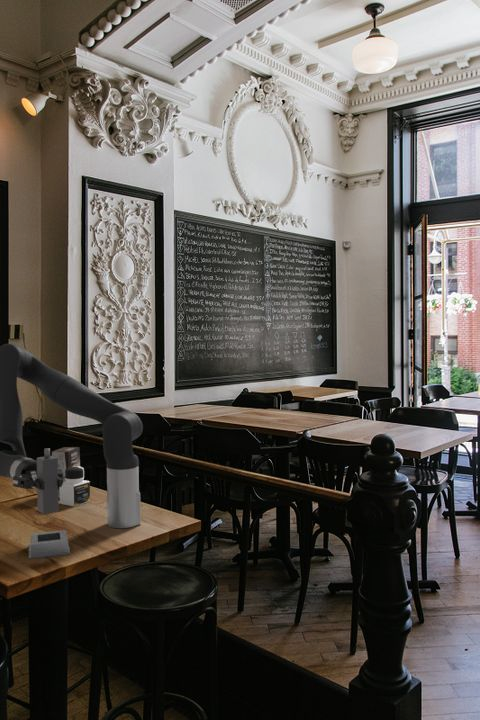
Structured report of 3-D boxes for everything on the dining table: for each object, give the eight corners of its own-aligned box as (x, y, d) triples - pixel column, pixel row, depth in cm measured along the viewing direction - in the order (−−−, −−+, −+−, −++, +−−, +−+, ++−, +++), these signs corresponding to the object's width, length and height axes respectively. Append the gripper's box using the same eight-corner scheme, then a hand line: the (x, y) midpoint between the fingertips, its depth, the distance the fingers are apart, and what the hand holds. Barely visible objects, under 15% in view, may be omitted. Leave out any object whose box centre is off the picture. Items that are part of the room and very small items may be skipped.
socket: (67, 541, 162) (67, 529, 162) (70, 554, 153) (70, 541, 153) (28, 545, 159) (28, 533, 159) (28, 559, 149) (28, 545, 149)
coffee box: (68, 498, 205) (68, 451, 204) (51, 497, 206) (51, 451, 206) (81, 491, 214) (80, 446, 213) (64, 490, 215) (63, 446, 215)
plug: (52, 507, 158) (51, 446, 157) (58, 511, 155) (57, 448, 154) (37, 510, 156) (36, 448, 155) (43, 514, 153) (42, 450, 152)
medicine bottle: (74, 507, 195) (73, 470, 194) (59, 503, 198) (58, 468, 198) (90, 501, 201) (90, 466, 200) (75, 498, 204) (75, 464, 204)
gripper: (1, 462, 161) (23, 474, 148) (52, 455, 170) (77, 466, 157) (2, 490, 162) (24, 504, 149) (53, 481, 171) (78, 494, 158)
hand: (51, 484), depth 153 cm, fingers closed on plug, 4 cm apart
